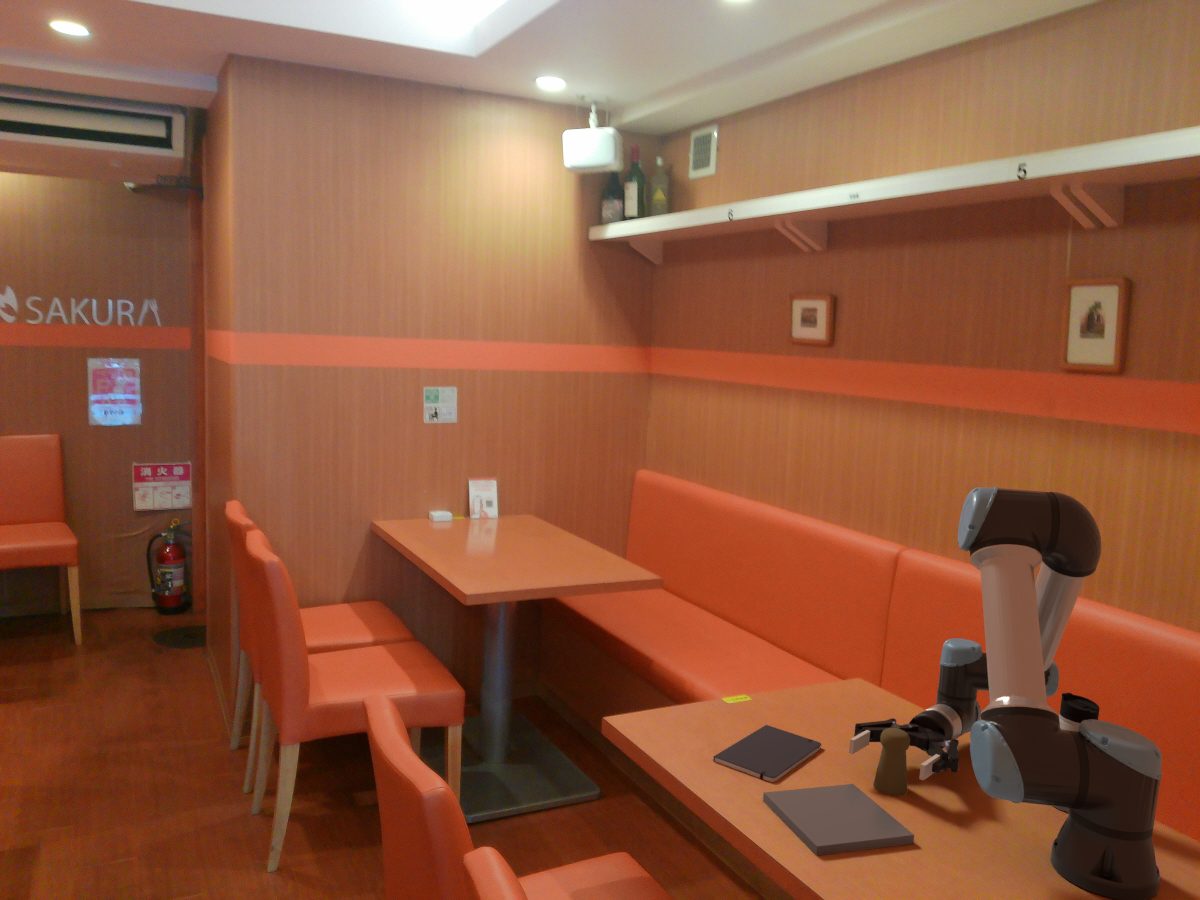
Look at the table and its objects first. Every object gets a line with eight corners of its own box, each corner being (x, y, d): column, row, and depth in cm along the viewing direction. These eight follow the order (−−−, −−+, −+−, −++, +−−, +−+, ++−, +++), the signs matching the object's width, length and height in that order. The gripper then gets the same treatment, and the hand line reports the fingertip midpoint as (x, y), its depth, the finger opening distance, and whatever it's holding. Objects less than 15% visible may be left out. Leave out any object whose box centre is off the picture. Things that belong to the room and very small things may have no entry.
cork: (909, 798, 171) (915, 739, 169) (874, 792, 172) (880, 734, 171) (905, 783, 177) (911, 726, 175) (871, 778, 178) (877, 722, 176)
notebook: (765, 731, 198) (712, 763, 181) (766, 724, 197) (713, 756, 181) (822, 750, 190) (772, 786, 173) (823, 743, 190) (773, 778, 173)
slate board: (913, 843, 155) (914, 834, 155) (816, 855, 149) (816, 846, 149) (852, 791, 172) (853, 783, 172) (763, 800, 166) (763, 792, 166)
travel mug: (1064, 794, 176) (1077, 690, 174) (1094, 811, 170) (1108, 704, 168) (1039, 798, 174) (1052, 693, 171) (1069, 816, 168) (1083, 707, 165)
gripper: (996, 768, 179) (951, 804, 163) (873, 726, 196) (822, 755, 180) (1001, 730, 178) (956, 763, 162) (877, 691, 195) (825, 717, 179)
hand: (885, 759), depth 171 cm, fingers open, 13 cm apart
